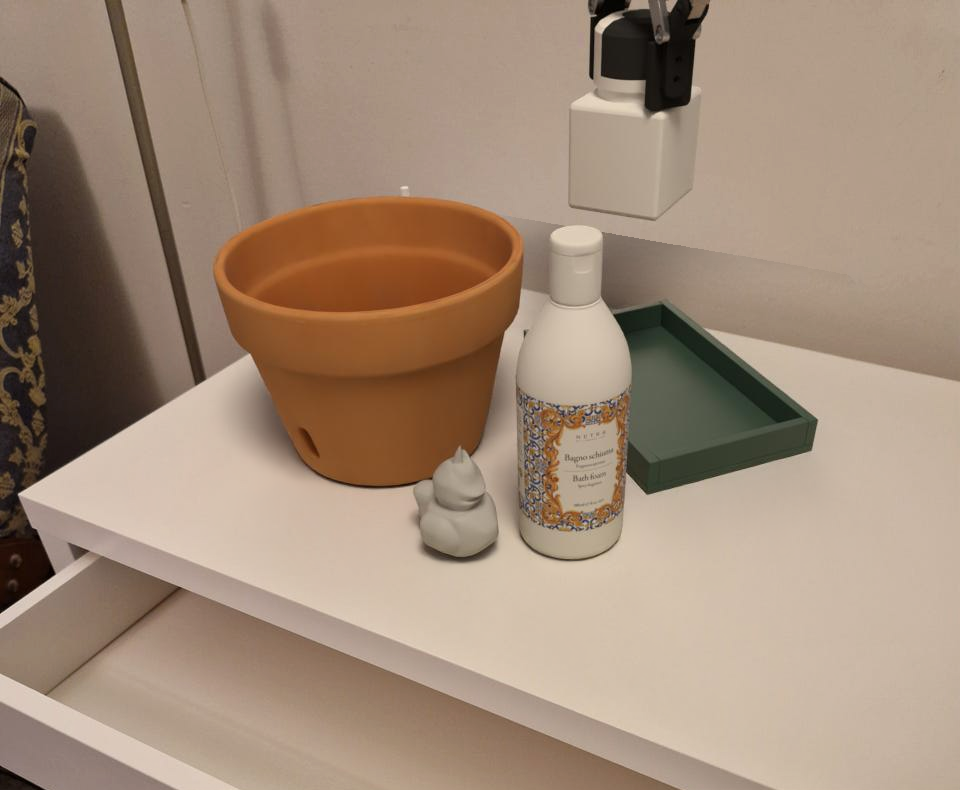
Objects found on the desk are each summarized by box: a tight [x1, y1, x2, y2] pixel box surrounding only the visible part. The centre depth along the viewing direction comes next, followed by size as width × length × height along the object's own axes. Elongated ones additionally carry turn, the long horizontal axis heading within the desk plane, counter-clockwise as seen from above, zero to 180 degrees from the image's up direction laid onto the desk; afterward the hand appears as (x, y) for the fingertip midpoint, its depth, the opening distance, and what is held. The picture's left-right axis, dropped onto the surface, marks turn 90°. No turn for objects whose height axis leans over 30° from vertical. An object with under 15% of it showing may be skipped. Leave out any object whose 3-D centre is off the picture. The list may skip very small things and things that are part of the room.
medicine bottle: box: [567, 8, 703, 222], centre depth 71 cm, size 7×7×12 cm
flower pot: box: [212, 195, 525, 487], centre depth 73 cm, size 21×21×15 cm
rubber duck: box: [412, 446, 500, 558], centre depth 65 cm, size 5×7×8 cm
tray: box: [523, 298, 819, 495], centre depth 79 cm, size 14×23×3 cm, turn 21°
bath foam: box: [515, 224, 632, 560], centre depth 61 cm, size 7×7×20 cm
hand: (637, 90), depth 70 cm, fingers closed on medicine bottle, 7 cm apart
